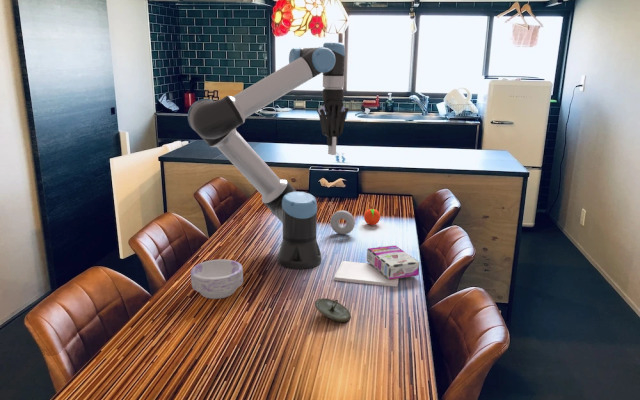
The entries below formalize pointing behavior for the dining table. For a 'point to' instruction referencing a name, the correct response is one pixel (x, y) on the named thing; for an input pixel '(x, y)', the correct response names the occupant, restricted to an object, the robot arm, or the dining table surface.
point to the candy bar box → (393, 262)
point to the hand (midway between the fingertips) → (332, 154)
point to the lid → (332, 309)
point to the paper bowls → (217, 278)
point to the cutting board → (362, 274)
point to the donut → (338, 227)
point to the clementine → (372, 216)
